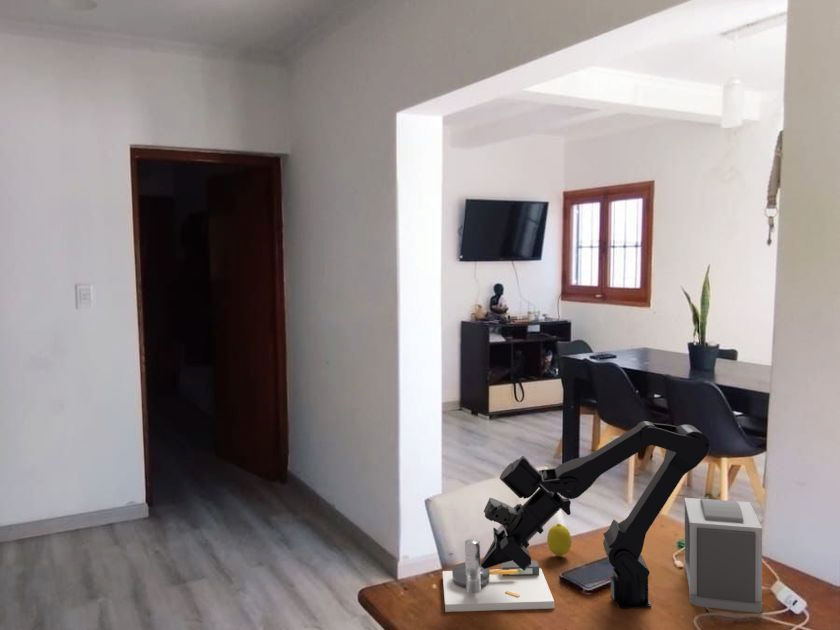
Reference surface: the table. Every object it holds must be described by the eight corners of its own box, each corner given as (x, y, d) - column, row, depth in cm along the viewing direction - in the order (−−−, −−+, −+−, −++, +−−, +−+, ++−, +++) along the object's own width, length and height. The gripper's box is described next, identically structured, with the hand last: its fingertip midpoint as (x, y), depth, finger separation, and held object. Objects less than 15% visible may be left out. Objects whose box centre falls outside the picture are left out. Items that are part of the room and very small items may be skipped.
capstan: (514, 569, 150) (513, 520, 150) (523, 597, 138) (522, 543, 137) (451, 571, 150) (450, 522, 150) (454, 599, 138) (453, 545, 137)
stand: (541, 574, 152) (540, 559, 151) (554, 608, 137) (554, 591, 136) (442, 577, 152) (442, 562, 151) (445, 611, 137) (444, 594, 136)
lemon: (565, 563, 157) (564, 530, 156) (543, 558, 160) (542, 525, 159) (575, 555, 161) (574, 522, 161) (554, 549, 164) (553, 517, 164)
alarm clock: (684, 566, 154) (684, 487, 152) (748, 572, 150) (748, 491, 148) (690, 605, 136) (690, 516, 135) (763, 613, 132) (763, 522, 131)
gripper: (501, 472, 148) (451, 523, 149) (513, 502, 129) (456, 560, 130) (537, 507, 149) (488, 557, 149) (555, 541, 130) (498, 598, 131)
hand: (482, 566), depth 140 cm, fingers closed
